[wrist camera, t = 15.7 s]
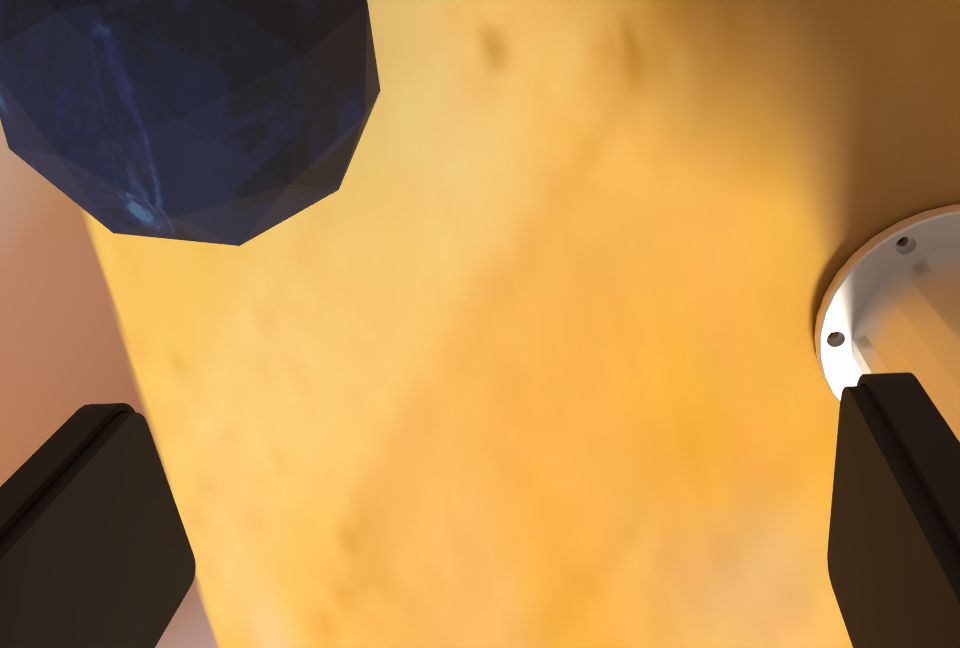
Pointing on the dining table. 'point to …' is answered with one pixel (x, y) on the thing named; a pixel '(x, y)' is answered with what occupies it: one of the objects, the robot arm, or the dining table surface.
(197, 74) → the decorative orb
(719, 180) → the dining table surface
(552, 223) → the dining table surface
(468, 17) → the dining table surface
